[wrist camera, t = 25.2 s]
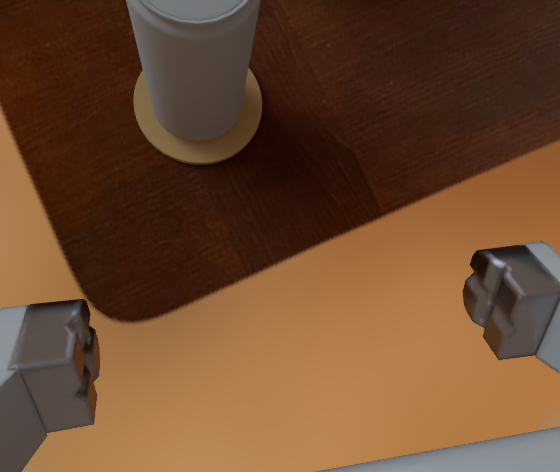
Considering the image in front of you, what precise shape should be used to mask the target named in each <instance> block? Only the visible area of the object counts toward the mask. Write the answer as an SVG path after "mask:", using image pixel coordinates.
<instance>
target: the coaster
mask: <svg viewBox="0 0 560 472" xmlns="http://www.w3.org/2000/svg"><path fill="white" fill-rule="evenodd" d="M134 110H135V115H136V119H137V121H138V124H139V126H140V129H141V130H142V132H143V134H144V136H145V137H146V138H147V140H148V141H149V142H150V143H151V144H152V145H153V146H154V147H155V148H156V149H157V150H159V151H160V152H161V153H163V154H164V155H166V156H168V157H170V158H172V159H174V160H176V161H179V162H183V163H187V164H193V165H206V164H213V163H218V162H221V161H224V160H226V159H228V158H230V157H232V156H234V155H235V154H237V153H238V152H240V151H241V150H242V149H243V148H244V147H245V146H246V145H247V144H248V143H249V142H250V141H251V139H252V138H253V136H254V134H255V132H256V130H257V128H258V125H259V122H260V119H261V113H262V97H261V91H260V88H259V85H258V82H257V80H256V78H255V76H254V75H253V73H252V71H251V70H250V69H249V67H248V72H247V78H246V83H245V89H244V94H243V100H242V105H241V110H240V113H239V116H238V119H237V120H236V122H235V123H234V125H233V126H232V128H231V129H229V130H228V131H227V132H226V133H224V134H223V135H222V136H219V137H216V138H214V139H211V140H203V141H193V140H185V139H182V138H179V137H176V136H174V135H173V134H171V133H170V132H168V131H166V130H165V129H164V127H163V126H162V125H161V124H160V123H159V122H158V120H157V118H156V116H155V114H154V112H153V109H152V104H151V100H150V96H149V92H148V88H147V84H146V80H145V76H144V71H143V70H142V72H141V74H140V76H139V78H138V80H137V83H136V86H135V92H134Z"/></svg>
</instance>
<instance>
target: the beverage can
mask: <svg viewBox="0 0 560 472" xmlns="http://www.w3.org/2000/svg"><path fill="white" fill-rule="evenodd" d="M126 1H127V5H128V9H129V14H130V18H131V22H132V26H133V30H134V34H135V38H136V43H137V47H138V51H139V55H140V59H141V63H142V67H143V71H144V76H145V80H146V84H147V88H148V92H149V96H150V100H151V104H152V109H153V112H154V114H155V116H156V118H157V120H158V122H159V123H160V124H161V125H162V126H163V127H164V129H165V130H166V131H168V132H170V133H171V134H173V135H174V136H176V137H179V138H182V139H185V140H193V141H203V140H211V139H214V138H216V137H219V136H222V135H223V134H224V133H226V132H227V131H228V130H229V129H231V128H232V126H233V125H234V123H235V122H236V120H237V119H238V116H239V113H240V110H241V105H242V100H243V94H244V89H245V83H246V78H247V72H248V67H249V61H250V56H251V50H252V45H253V39H254V33H255V28H256V22H257V17H258V11H259V6H260V0H126Z"/></svg>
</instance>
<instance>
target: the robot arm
mask: <svg viewBox="0 0 560 472" xmlns="http://www.w3.org/2000/svg"><path fill="white" fill-rule="evenodd" d="M470 266H471V267H472V269H473V271H474V273H473V274H472V275H471V276H470V277H468V279H467V280H466V281H465V285H464V289H463V299H464V305H465V308H466V311H467V313H468V315H469V316H470V318H471V320H472V321H473V322H474V323H476V324H478V325H480V326H481V327H483V328H484V334H483V338H484V339H485V340H486V342H487V344H488V345H489V346H490V348H491V349H492V351H493V352H494V354H495V355H496V357H497V358H498V360H503V359H509V358H518V357H526V356H533V355H536V358H537V359H539V360H540V361H542V362H543V363H545V364H546V365H548V366H549V367H550V368H552V369H553V370H555V371H556V372H558V373H559V374H560V255H559V254H558V253H557V252H556V251H555V250H554V249H553V248H552V247H551V246H550V245H549V244H547V243H545V242H542V241H540V242H532V243H526V244H520V245H514V246H507V247H499V248H491V249H483V250H477V251H476V252H475V253H474V255H473V256H472V260H471V263H470ZM89 321H90V311H89V308H88V305H87V302H86V301H85V300H84V299H78V300H68V301H58V302H48V303H38V304H30V305H23V306H13V307H4V308H1V310H0V472H22V470H23V469H24V467H25V466H26V465H27V463H28V462H29V460H30V459H31V458H32V456H33V455H34V453H35V452H36V451H37V449H38V448H39V447H40V445H41V444H42V443H43V441H44V440H45V438H46V437H47V433H50V432H56V431H61V430H66V429H72V428H77V427H82V426H88V425H93V424H94V419H95V409H96V400H97V393H96V390H95V387H94V383H93V382H94V381H95V380H96V379H97V378H98V377H99V369H100V352H99V344H98V338H97V335H96V331H95V329H93V328H92V327H90V326H89ZM317 472H560V427H556V428H551V429H545V430H539V431H534V432H529V433H523V434H518V435H512V436H508V437H502V438H497V439H491V440H485V441H480V442H475V443H469V444H464V445H459V446H453V447H448V448H442V449H437V450H431V451H426V452H421V453H415V454H410V455H404V456H399V457H393V458H388V459H383V460H377V461H372V462H366V463H361V464H355V465H350V466H345V467H339V468H333V469H328V470H322V471H317Z"/></svg>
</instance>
